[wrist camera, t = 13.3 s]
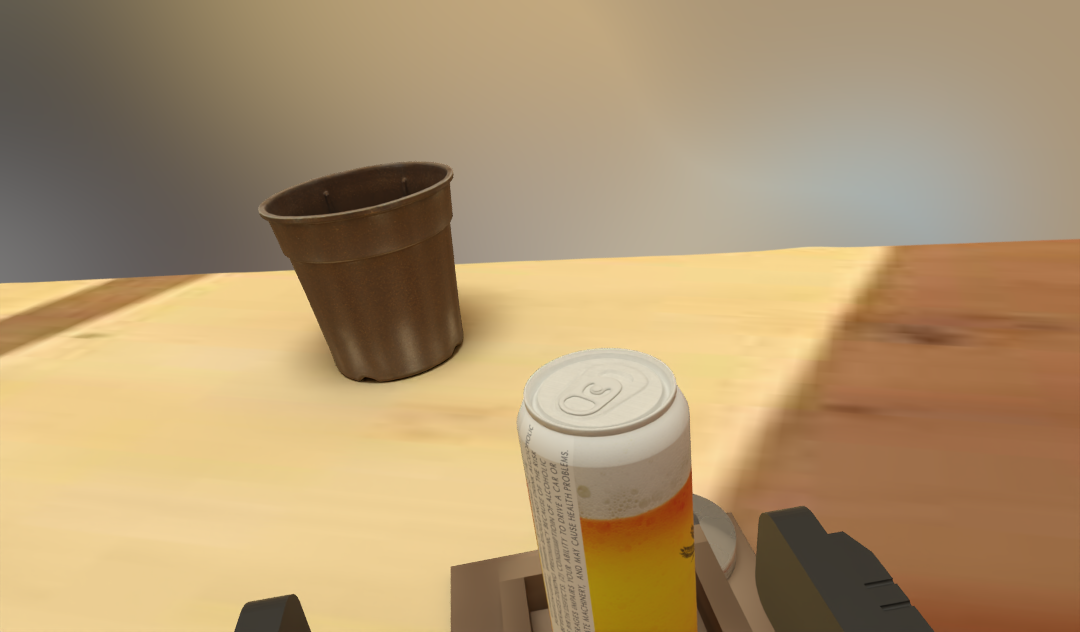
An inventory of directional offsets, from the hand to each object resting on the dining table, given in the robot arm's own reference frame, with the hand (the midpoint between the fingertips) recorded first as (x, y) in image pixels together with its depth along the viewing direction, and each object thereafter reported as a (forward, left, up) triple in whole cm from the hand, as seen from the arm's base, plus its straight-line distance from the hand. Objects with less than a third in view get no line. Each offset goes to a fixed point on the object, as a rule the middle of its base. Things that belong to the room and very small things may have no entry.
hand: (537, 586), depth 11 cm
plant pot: (-10, +48, -19) cm, 53 cm away
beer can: (+3, +11, -18) cm, 22 cm away
